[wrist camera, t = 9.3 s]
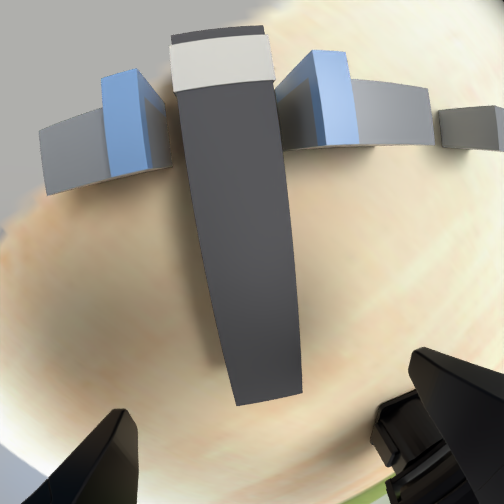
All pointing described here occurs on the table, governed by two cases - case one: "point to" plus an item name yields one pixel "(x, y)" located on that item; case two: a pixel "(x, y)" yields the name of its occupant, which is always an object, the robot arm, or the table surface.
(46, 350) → the table surface
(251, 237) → the dark grey long bar
